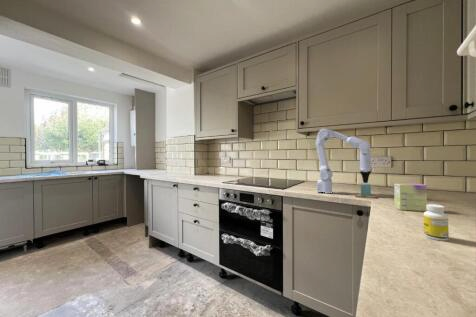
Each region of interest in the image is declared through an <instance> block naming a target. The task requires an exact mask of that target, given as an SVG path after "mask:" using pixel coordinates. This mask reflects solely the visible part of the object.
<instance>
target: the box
mask: <svg viewBox="0 0 476 317" xmlns="http://www.w3.org/2000/svg"><path fill="white" fill-rule="evenodd" d="M393 187H394V188H393V190H394V191H393V192H394V194H393V196H394V199H393V200H394V208H396V209H397V210H399V211H416V212H426V211H427V209H426V205H427V204H428V199H427V198H428V197H427V190H428V189H427V188H428V187H427V184H424V183H423V184H422V183H396V182H395V183H394V186H393Z"/></svg>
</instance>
